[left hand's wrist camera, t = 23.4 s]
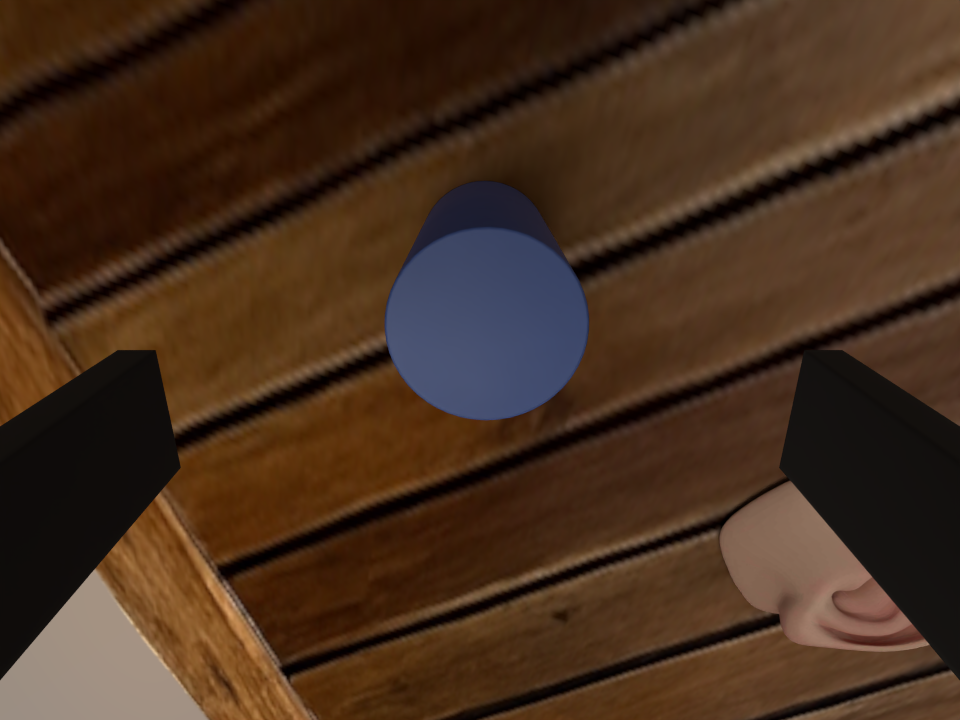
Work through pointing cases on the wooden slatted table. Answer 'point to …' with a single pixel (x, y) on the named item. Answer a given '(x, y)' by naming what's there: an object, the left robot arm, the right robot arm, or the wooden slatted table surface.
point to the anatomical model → (810, 577)
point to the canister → (486, 307)
